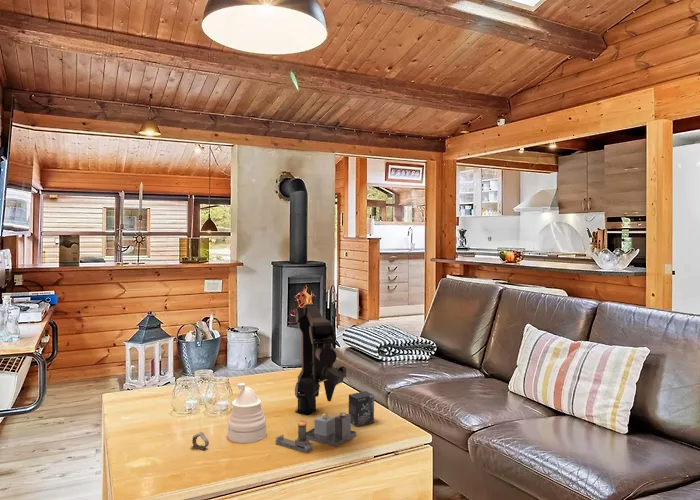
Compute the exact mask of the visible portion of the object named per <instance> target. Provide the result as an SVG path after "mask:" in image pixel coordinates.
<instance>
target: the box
mask: <svg viewBox="0 0 700 500" xmlns="http://www.w3.org/2000/svg"><path fill="white" fill-rule="evenodd" d="M348 414H350V415H351V426H354V427H355V428H357V427H361V426H366V425H369V424H370V425H371V424H374V423H375V421H374V420H375V395H374V394H373V393H372V392H368V391H366V390H365V391H359V392H355V393H354V392H353V393H350V394H348Z"/></svg>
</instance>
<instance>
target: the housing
mask: <svg viewBox="0 0 700 500" xmlns="http://www.w3.org/2000/svg"><path fill="white" fill-rule="evenodd" d="M314 428H315V432H316V433H319V434H323V435H328V434H330V433H332V432H333V431H335V417H333V416H329V415H328V413H322V415H321V416H318V417H316V418H314Z"/></svg>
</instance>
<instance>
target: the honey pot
mask: <svg viewBox="0 0 700 500" xmlns="http://www.w3.org/2000/svg"><path fill="white" fill-rule="evenodd" d="M237 388H238V389H239V390H240V392H239V394H238V395H237V396H236V398H235V399H234V400H232V401H231V406H232V410H231V411H230V415H229V419H228V422H227V439H228V440H230V442H232V443H238V444H248V443H255V442H259V441H261V440H263V439H265V437H266V436H267V419H266V417H265V413H264V409H263V407H262V400H261V399H260V398H258V395H257V394H256V392H255V391H254V390H253V389H252V388H251V387H249V386H246V383H244V382H240V383H237Z"/></svg>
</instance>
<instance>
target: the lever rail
mask: <svg viewBox="0 0 700 500" xmlns="http://www.w3.org/2000/svg"><path fill="white" fill-rule="evenodd" d="M284 437H285V436H284V434H279V435H278V436H277V435H276V437H275V444H276V445H279V446H281V447H285V448H288V449H291V450H294V451H298V452H302V453H304V454H308V453H309V452H311V451H313V443H312V442H309V444H307V445H305V447H301V446H298V445H295V440H292V439H289V438H284Z"/></svg>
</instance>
